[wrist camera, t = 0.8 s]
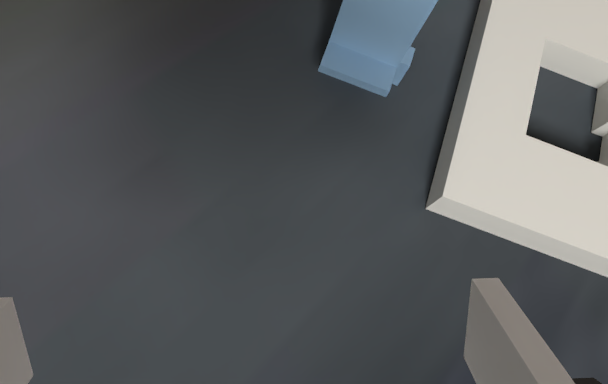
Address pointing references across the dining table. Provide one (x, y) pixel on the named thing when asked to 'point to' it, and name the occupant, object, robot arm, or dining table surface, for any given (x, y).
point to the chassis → (513, 126)
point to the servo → (374, 42)
